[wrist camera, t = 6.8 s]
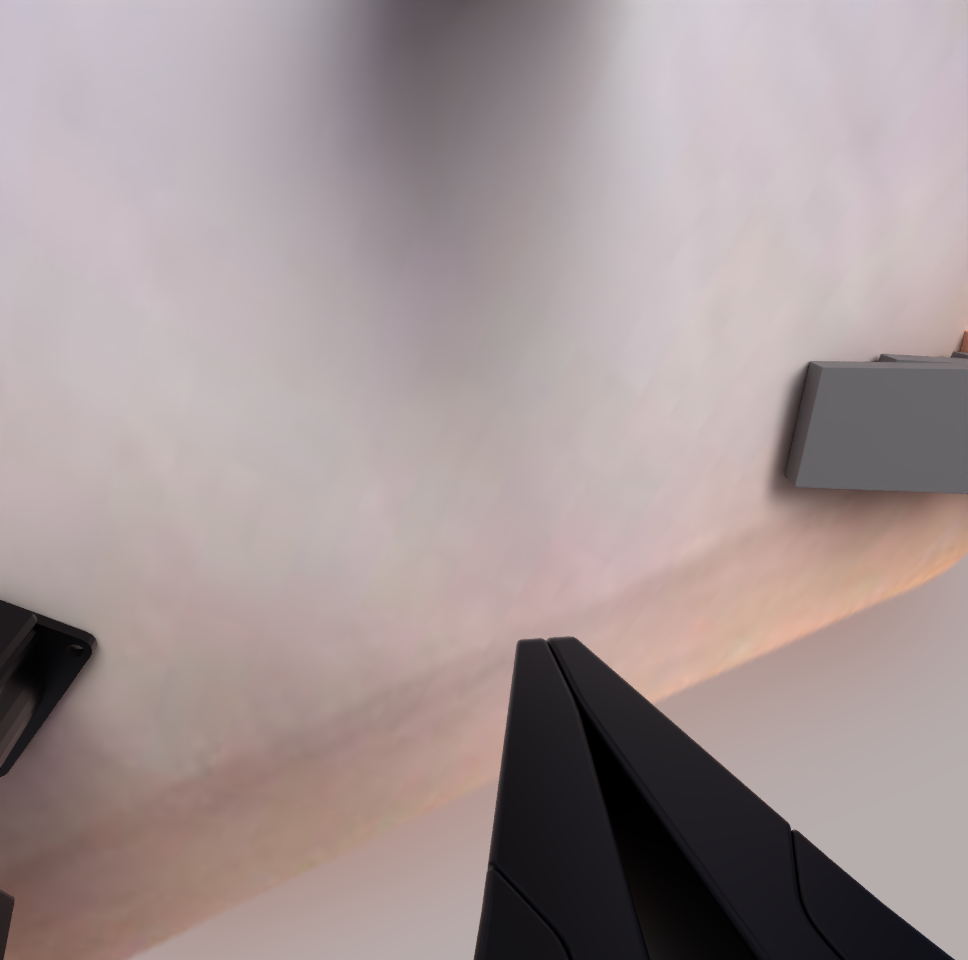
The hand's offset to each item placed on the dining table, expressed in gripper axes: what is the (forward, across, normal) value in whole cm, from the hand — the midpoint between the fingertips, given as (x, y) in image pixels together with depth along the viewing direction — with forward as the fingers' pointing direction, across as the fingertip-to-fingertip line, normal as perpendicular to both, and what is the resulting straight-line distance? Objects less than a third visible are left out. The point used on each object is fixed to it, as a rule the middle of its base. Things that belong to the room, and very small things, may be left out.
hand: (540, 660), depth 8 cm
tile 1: (+13, -14, +1) cm, 19 cm away
